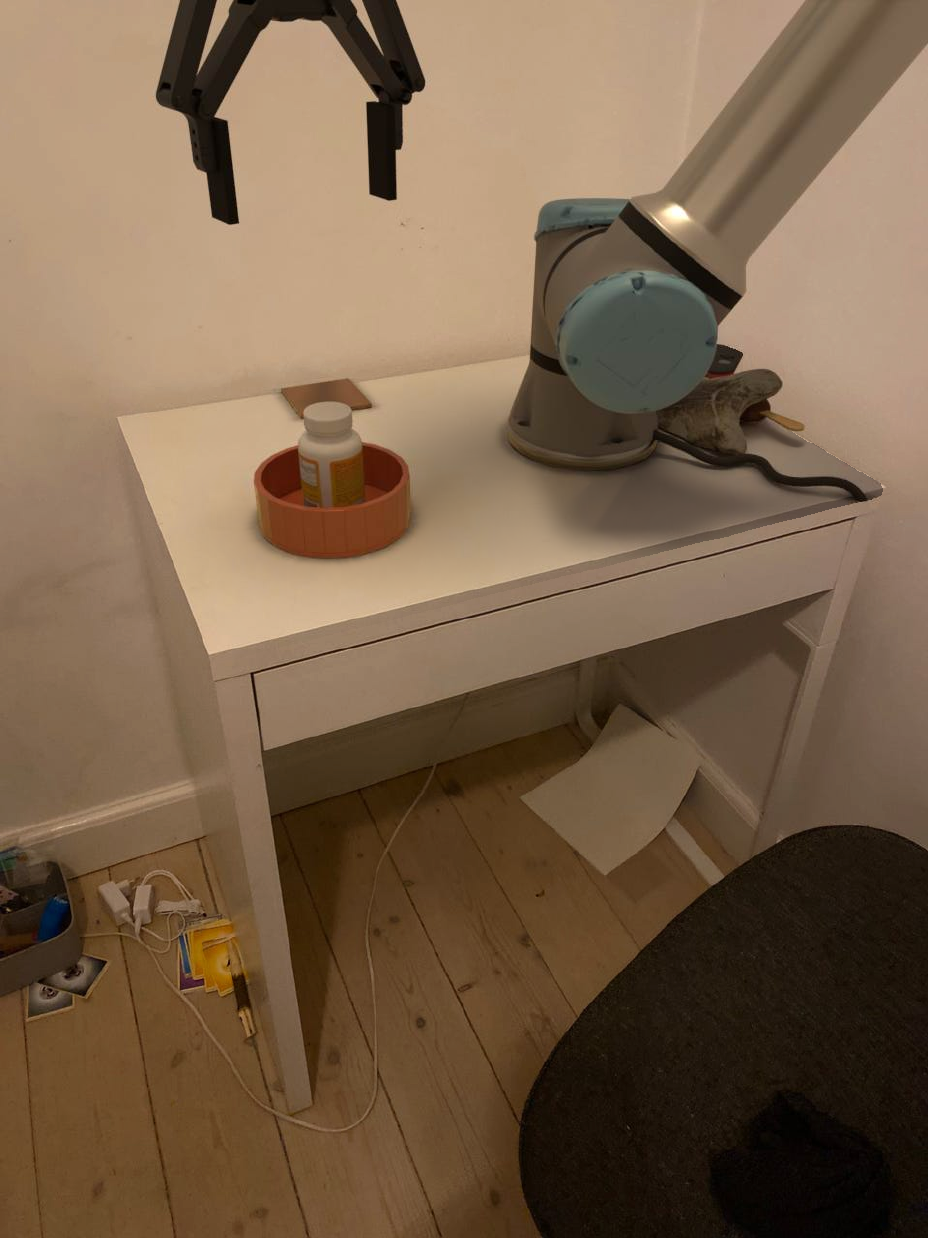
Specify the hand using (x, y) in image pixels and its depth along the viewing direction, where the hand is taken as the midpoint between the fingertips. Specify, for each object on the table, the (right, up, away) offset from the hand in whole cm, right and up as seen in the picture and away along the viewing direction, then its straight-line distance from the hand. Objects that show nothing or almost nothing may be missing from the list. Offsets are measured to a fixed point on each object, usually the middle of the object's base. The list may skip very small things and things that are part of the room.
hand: (308, 208), depth 71 cm
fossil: (+30, -7, +33) cm, 45 cm away
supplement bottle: (0, -22, +13) cm, 25 cm away
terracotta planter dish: (0, -22, +13) cm, 25 cm away
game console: (+38, 0, +44) cm, 58 cm away
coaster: (-4, -6, +34) cm, 35 cm away
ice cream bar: (+45, -12, +25) cm, 53 cm away
